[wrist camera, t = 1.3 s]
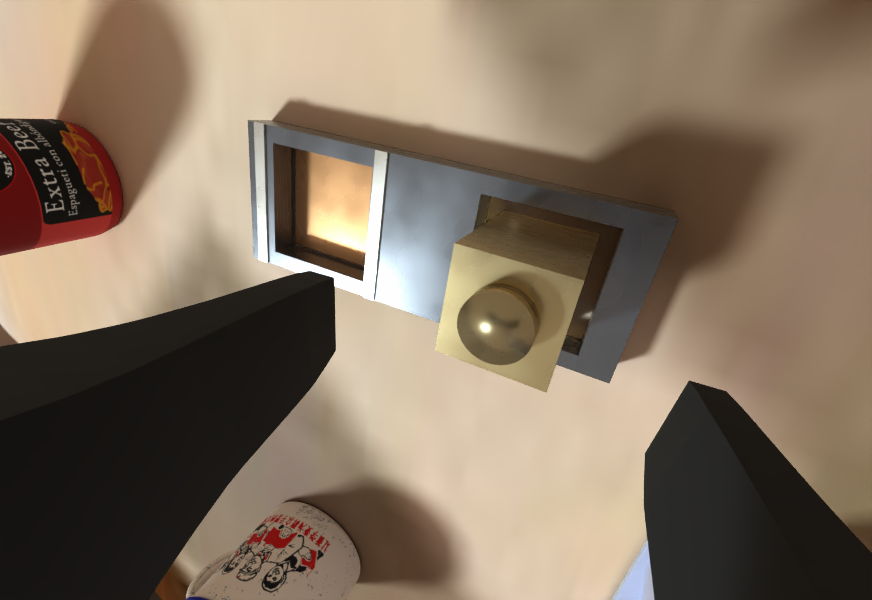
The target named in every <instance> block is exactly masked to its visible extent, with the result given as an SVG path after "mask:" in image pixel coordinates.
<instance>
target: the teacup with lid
mask: <svg viewBox="0 0 872 600" xmlns="http://www.w3.org/2000/svg"><path fill="white" fill-rule="evenodd" d="M359 575H360V559H359V556H358V553H357V550H356V548H355V546H354V544H353V542H352V541H351V539H350V538H349V536H348V535H347V534H346V532H345V531H344V530H343V529H342V528H341V527H340V526H339V525H338V524H337V523H336V522H335V521H334V520H333V519H332V518H331V517H329V516H328V515H327V514H325V513H324V512H322V511H321V510H319V509H317V508H315V507H313V506H311V505H308V504H305V503H301V502H285V503H283V504H281V505H279V506H278V507H276V508H275V509H274V510H273V511H272V512H271V514H270V515H269V516H268V517H267V518H266V519H265V520H264V521H263V522H262V523H261V524H260V525H259V526H258V527H257V528H256V530H255V531H254V532H253V533H252V534H251V535H250V536H249V537H248V538H247V539H246V540H245V541H244V542H243V543H242V544H241V546H240V547H239V548H238V549H237V550H235V551H231V552H229V553H227V554H225V555H223V556H221V557H219V558H217V559H216V560H214V561H213V562H212V563H210V564H209V565H208V566H206V567H205V568H204V569H203V570H202V571H201V572H200V573H199V574H198V575H197V576H196V577H195V578H194V580H193V581H192V583H191V584H190V586H189V588H188V591H187V595H186V599H185V600H346V599H347V597H348V595H349V594H350V592H351V590H352V589H353V587H354V585H355V584H356V582H357V580H358V578H359Z"/></svg>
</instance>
